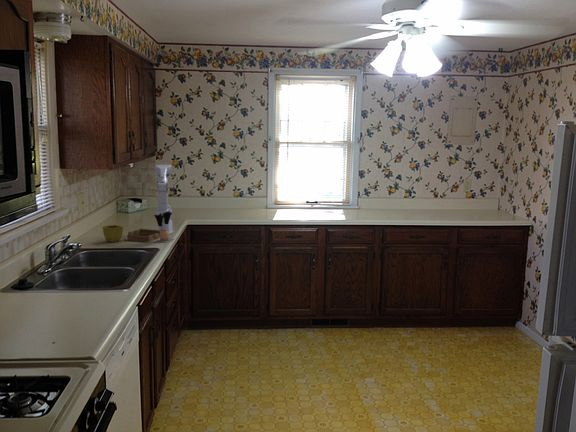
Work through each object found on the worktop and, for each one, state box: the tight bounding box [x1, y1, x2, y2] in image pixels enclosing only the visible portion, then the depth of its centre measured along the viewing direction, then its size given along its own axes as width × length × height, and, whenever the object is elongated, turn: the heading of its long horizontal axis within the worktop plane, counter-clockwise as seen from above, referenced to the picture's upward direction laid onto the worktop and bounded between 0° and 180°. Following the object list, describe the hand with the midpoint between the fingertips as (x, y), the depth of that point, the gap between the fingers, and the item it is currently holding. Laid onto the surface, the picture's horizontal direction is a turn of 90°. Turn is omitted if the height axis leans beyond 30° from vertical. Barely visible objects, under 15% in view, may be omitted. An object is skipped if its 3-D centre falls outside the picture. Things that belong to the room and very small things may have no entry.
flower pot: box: [102, 224, 124, 243], centre depth 337 cm, size 9×9×9 cm
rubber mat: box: [153, 238, 176, 244], centre depth 342 cm, size 12×8×1 cm, turn 162°
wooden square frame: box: [126, 228, 160, 243], centre depth 346 cm, size 14×14×4 cm
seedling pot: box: [159, 230, 170, 241], centre depth 341 cm, size 5×5×6 cm
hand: (163, 225), depth 341 cm, fingers open, 7 cm apart
